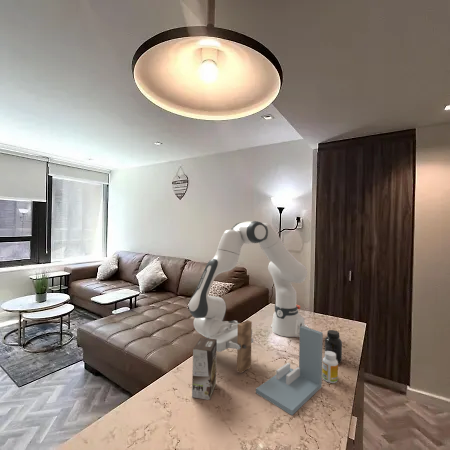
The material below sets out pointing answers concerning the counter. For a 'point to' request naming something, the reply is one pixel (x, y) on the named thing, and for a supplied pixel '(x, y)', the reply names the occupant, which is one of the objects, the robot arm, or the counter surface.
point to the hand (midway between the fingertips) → (246, 344)
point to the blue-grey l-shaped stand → (297, 375)
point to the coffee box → (204, 368)
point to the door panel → (244, 346)
